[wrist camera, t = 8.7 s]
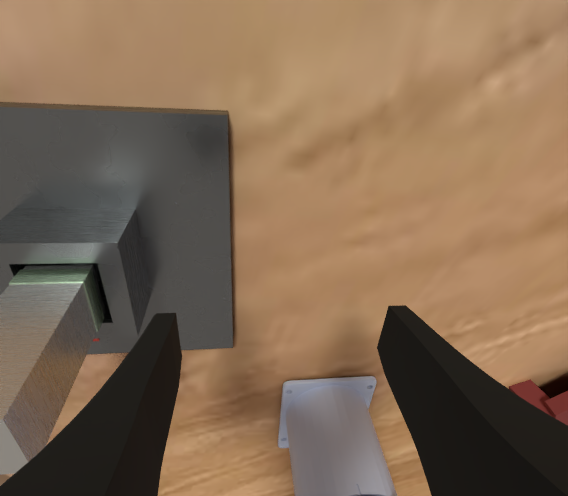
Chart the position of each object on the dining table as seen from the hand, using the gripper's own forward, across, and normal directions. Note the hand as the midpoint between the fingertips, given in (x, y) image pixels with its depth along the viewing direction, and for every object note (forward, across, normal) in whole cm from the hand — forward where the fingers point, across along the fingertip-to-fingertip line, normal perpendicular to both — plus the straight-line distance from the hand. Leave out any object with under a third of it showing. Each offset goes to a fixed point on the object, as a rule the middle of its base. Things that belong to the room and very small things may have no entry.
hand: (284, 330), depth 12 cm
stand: (+10, +10, +3) cm, 15 cm away
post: (+6, +10, +3) cm, 12 cm away
